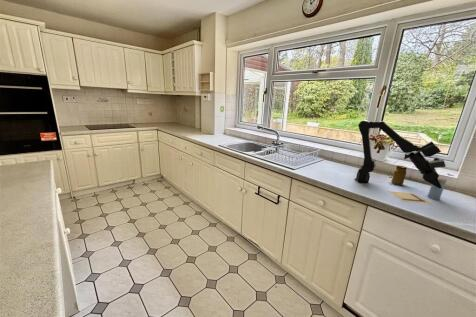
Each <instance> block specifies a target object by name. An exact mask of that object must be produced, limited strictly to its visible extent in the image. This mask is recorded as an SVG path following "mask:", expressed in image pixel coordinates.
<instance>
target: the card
mask: <svg viewBox="0 0 476 317" xmlns="http://www.w3.org/2000/svg"><path fill="white" fill-rule="evenodd" d="M388 193H389V194H391V195H393V196H394V197H396V199H399V200H400V201H401V202H403V203H413V204H427V205H433V203H432V202H430V201H429V200H427V199H426V198H424V197H422V196H420V195H418V194H417V193H415V192H405V191H391V190H388Z"/></svg>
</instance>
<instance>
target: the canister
mask: <svg viewBox="0 0 476 317" xmlns="http://www.w3.org/2000/svg"><path fill="white" fill-rule="evenodd" d="M438 181H439V183H440V185H441V187H442V188H438V187H436V186H434V185H432V184H431V185H430V188H429V190H428V193H427V196H426V197H427V198H428V199H429V200H434V201H440V199H441V197H442V194H443V192H444V189H445V185H446V184H447V182H448V181H447V179H446V178H444V177H440V176H439V177H438Z"/></svg>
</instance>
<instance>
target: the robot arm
mask: <svg viewBox="0 0 476 317" xmlns="http://www.w3.org/2000/svg"><path fill="white" fill-rule="evenodd" d="M358 129H359V133H360V134H361V139H362V150H363V162H362V163H363V164H362V165H361V166H360V167H359V168H358V170H357V172H356V177H355V178H354V180H355V181H356V182H358V184H370V182H369V181H370V178H371V173H372V172H373V171H374V169H375V168H376V165H377V164H376V158H373V157H372V149H371V139H370V131H371V129H380V130H382V132H384V133H385V135H386V136H388V137H389V138H390V139H392V141H394V142H395V143H396V144H397V146H398V147H399V149H400V150H401V151H402V152H403V153H405V154H404V157H403V158H404V160H407V159H409V160H410V162H412V164H413V165H414V167H415V168H416V169H417V170H418V171H419V173H420V174H421V177H422V179H423V180H424V182H426V183H429V184H431V185H434V186H436V187H438V188H442V187H441V185H440V183H439V181H438V177H439V178H440V174H439V173H438V172H437V170H436V169H437V168H438V169H439V168H446V167H447V166H446V163H445V160H444V159H442V158H441V159H440V158H438V157H434V158H433V160H430V161H429V160H428V159H426V158H425V157H428V158H431V157H432V156H435V155H438V154H440V153H441V152H442V150H440V148H439V147H438V146H437V145H435V143H434V142H433V141H432V140H431V141H429V142H427V143H425V144H424V145H421V146H419V145H418V144H417V145H416V144H414V143H412V141H410V140H408V139H406V138H404V137H403V136H401V135H400V134H398V133H397V132H396V130H394V129H393V128H391V127H390V126H389V125H388V124H387V123H386V122H385V121H383V120H380V121H369V120H366V119H363V120H361V121H360V122H359V123H358Z"/></svg>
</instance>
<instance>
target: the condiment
mask: <svg viewBox="0 0 476 317" xmlns="http://www.w3.org/2000/svg"><path fill="white" fill-rule="evenodd" d="M407 169H408V168H407V166H404V165H396V166H395V169H394V171H393V174H392V178H391V182H389V184H391V185H393V186H398V187H408V185H407V184H404V181H405V178H406V175H407Z"/></svg>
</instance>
